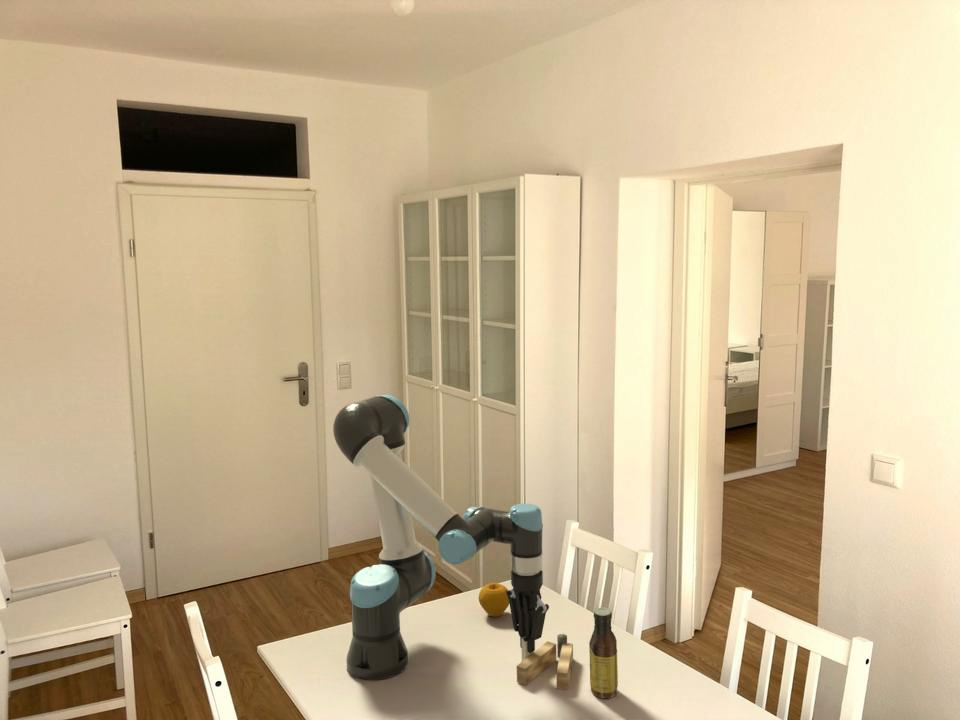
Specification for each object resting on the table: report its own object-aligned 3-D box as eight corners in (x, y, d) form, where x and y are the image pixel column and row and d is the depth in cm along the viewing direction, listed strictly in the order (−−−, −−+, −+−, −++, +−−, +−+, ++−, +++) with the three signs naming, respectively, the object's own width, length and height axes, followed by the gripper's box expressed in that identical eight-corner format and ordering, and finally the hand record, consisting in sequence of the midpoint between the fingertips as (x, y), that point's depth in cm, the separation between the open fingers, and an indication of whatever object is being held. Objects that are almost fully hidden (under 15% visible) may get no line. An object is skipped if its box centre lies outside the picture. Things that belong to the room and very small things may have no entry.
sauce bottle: (599, 681, 182) (598, 601, 179) (622, 690, 178) (622, 608, 175) (584, 694, 177) (583, 611, 174) (608, 703, 173) (608, 619, 170)
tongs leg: (547, 656, 194) (547, 641, 193) (556, 659, 192) (556, 643, 192) (516, 681, 182) (516, 665, 182) (525, 685, 181) (525, 668, 180)
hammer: (558, 653, 195) (557, 633, 195) (573, 654, 195) (573, 634, 194) (550, 688, 180) (550, 667, 179) (567, 689, 179) (567, 668, 178)
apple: (477, 608, 221) (477, 578, 220) (509, 606, 222) (508, 576, 221) (479, 622, 213) (479, 591, 211) (512, 621, 213) (511, 590, 212)
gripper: (557, 573, 182) (557, 668, 185) (520, 557, 192) (521, 647, 195) (533, 582, 177) (534, 679, 181) (497, 565, 187) (498, 657, 191)
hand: (527, 662), depth 188 cm, fingers closed
